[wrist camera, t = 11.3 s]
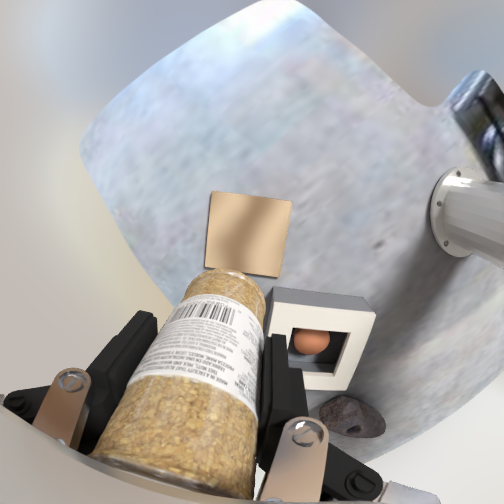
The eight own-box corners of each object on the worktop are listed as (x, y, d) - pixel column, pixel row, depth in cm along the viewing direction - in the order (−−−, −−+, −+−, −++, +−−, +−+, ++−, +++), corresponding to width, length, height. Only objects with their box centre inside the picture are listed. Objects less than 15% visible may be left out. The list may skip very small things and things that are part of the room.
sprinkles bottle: (182, 326, 16) (79, 536, 3) (192, 255, 14) (13, 493, 1) (256, 345, 16) (233, 581, 3) (277, 276, 14) (288, 583, 1)
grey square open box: (363, 297, 33) (376, 315, 28) (338, 368, 37) (346, 390, 32) (273, 286, 33) (274, 304, 29) (259, 361, 37) (258, 385, 32)
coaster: (291, 201, 30) (292, 201, 30) (279, 275, 33) (279, 277, 32) (213, 191, 31) (212, 191, 30) (205, 265, 33) (204, 266, 33)
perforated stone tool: (389, 408, 39) (400, 434, 33) (369, 424, 41) (377, 450, 34) (335, 383, 38) (344, 414, 31) (313, 402, 39) (318, 433, 32)
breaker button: (331, 321, 34) (333, 327, 32) (322, 349, 35) (324, 355, 34) (297, 317, 34) (298, 323, 32) (290, 346, 35) (291, 353, 34)
